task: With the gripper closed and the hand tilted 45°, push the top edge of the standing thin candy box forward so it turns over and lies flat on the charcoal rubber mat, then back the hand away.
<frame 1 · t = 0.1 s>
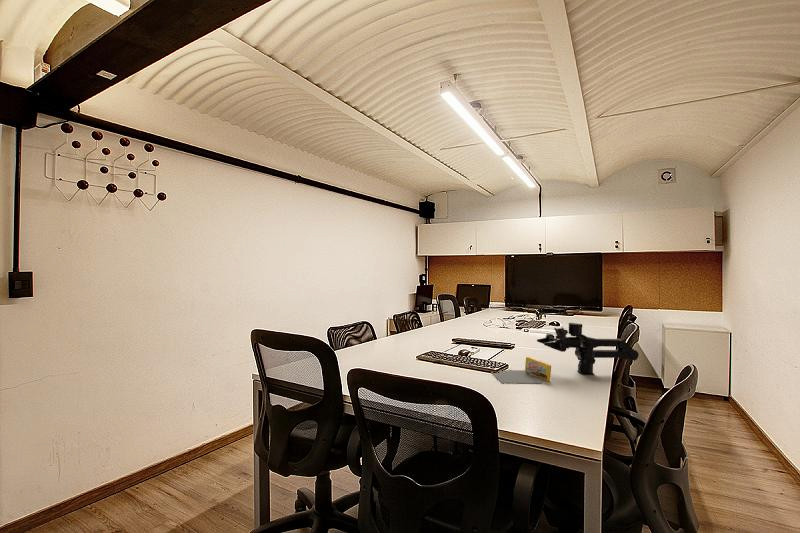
hand: (540, 342, 208), 17 cm above the table, tool horizontal, fingers open, 9 cm apart
mat: (514, 376, 200), on the table
candy box: (536, 376, 201), on the table, touching mat
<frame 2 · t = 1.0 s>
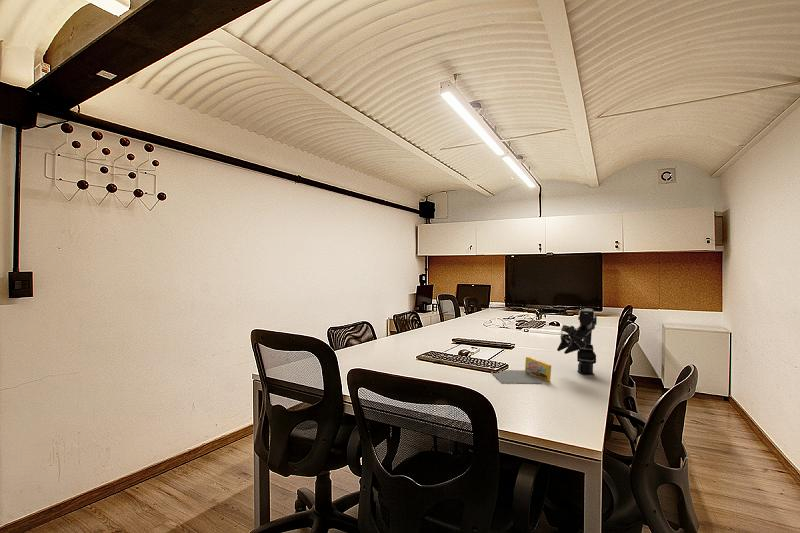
hand: (561, 351, 202), 13 cm above the table, tool tilted 45°, fingers open, 9 cm apart
nothing on the table moved.
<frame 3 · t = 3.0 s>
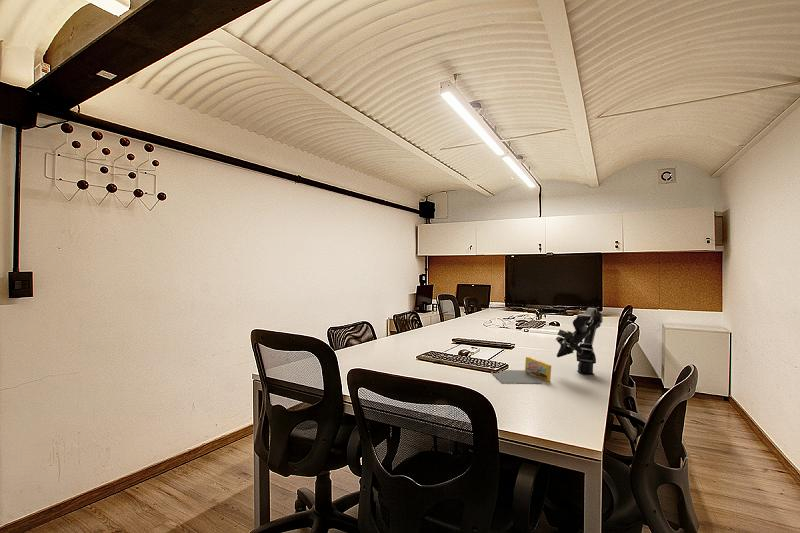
hand: (557, 356, 200), 11 cm above the table, tool tilted 45°, fingers closed
nothing on the table moved.
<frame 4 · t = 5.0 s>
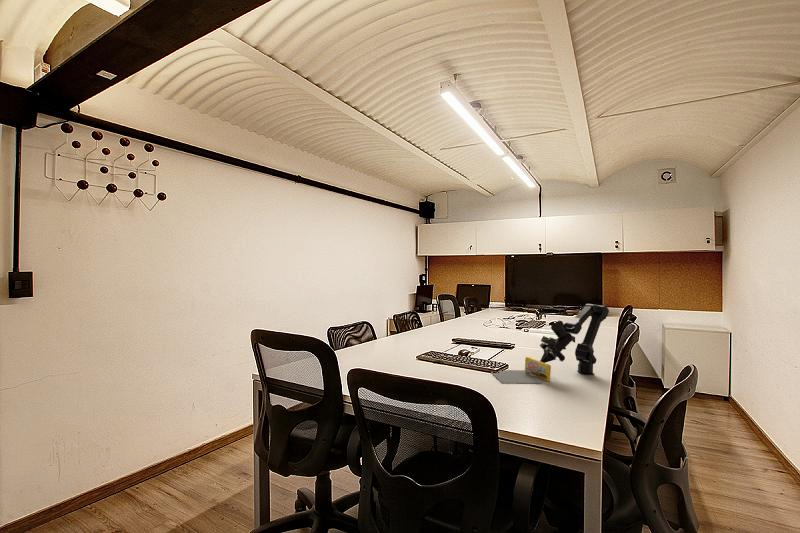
hand: (540, 363, 200), 7 cm above the table, tool tilted 45°, fingers closed
candy box: (536, 376, 201), on the table, touching gripper, mat
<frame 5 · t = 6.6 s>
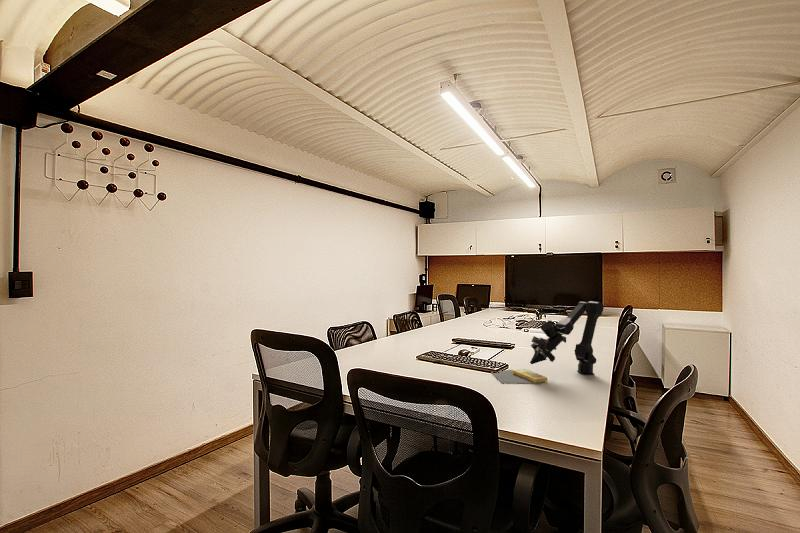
hand: (530, 363, 200), 7 cm above the table, tool tilted 45°, fingers closed
candy box: (536, 374, 200), point 1 cm above the table, touching mat
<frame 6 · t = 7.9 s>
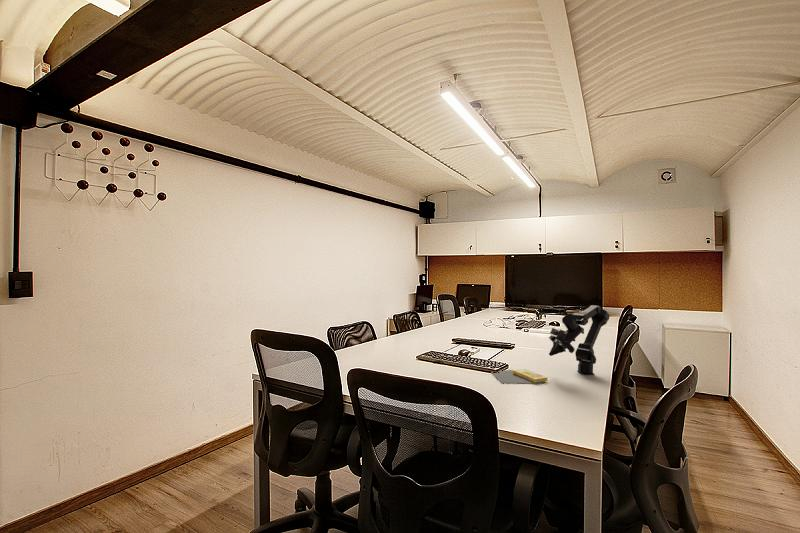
hand: (549, 355, 201), 11 cm above the table, tool tilted 45°, fingers closed
nothing on the table moved.
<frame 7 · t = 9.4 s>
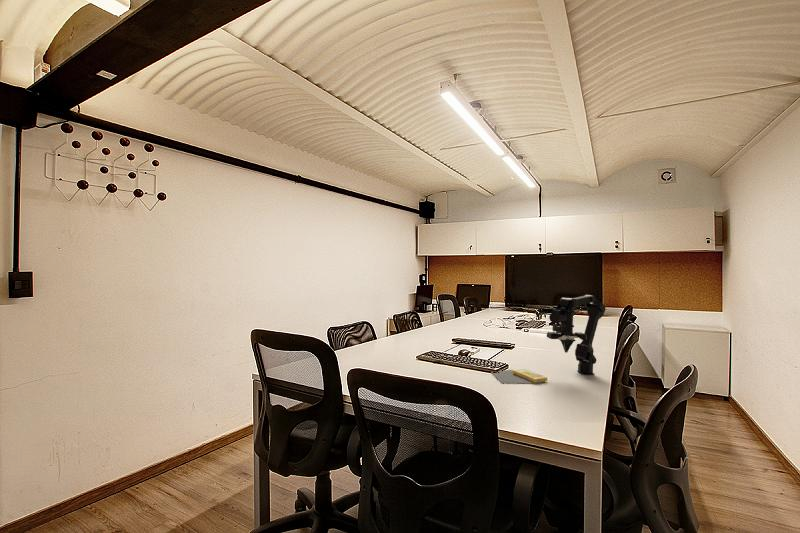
hand: (566, 352, 201), 13 cm above the table, tool pointing down, fingers closed
nothing on the table moved.
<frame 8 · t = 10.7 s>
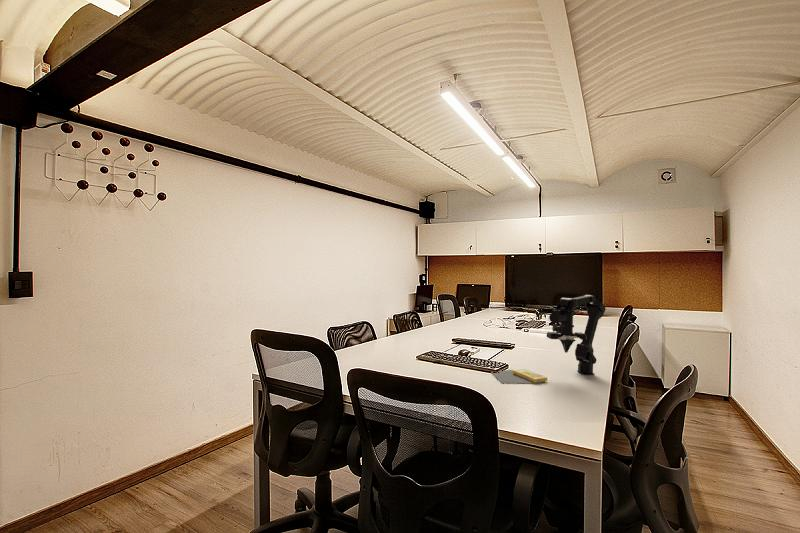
hand: (566, 352, 201), 13 cm above the table, tool pointing down, fingers closed
nothing on the table moved.
at the end: candy box tilted 88°; candy box touching mat; candy box inside the target area (5.4 cm from its centre), point 1.3 cm above the table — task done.
